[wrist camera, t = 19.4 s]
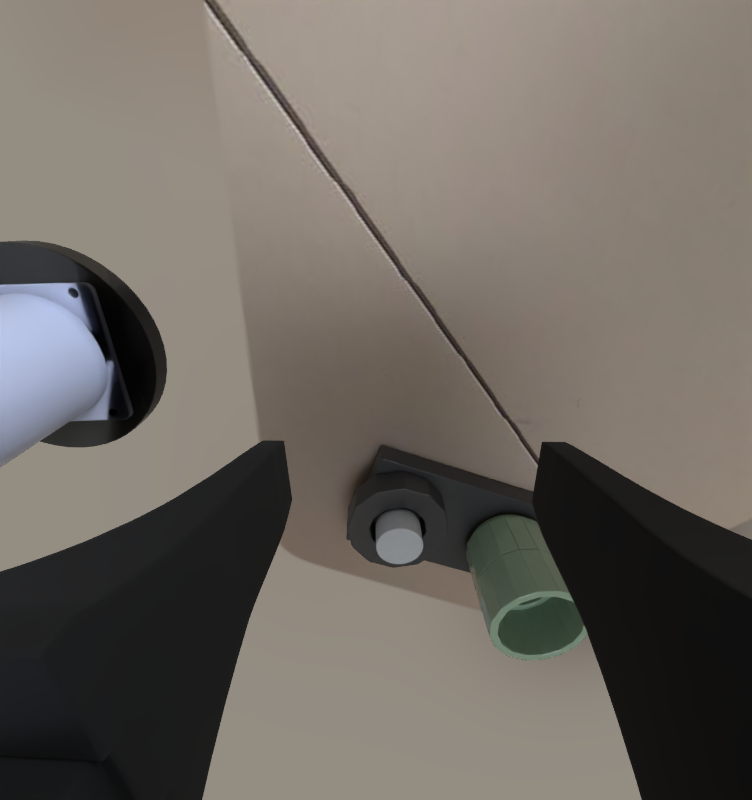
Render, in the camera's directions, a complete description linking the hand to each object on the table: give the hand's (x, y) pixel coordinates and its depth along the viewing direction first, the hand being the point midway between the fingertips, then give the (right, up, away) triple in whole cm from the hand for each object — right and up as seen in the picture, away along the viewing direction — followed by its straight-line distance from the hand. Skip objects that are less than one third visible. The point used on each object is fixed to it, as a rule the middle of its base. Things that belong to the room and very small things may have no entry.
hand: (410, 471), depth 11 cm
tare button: (0, -5, +10) cm, 11 cm away
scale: (+4, -5, +13) cm, 15 cm away
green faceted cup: (+7, -6, +12) cm, 15 cm away
